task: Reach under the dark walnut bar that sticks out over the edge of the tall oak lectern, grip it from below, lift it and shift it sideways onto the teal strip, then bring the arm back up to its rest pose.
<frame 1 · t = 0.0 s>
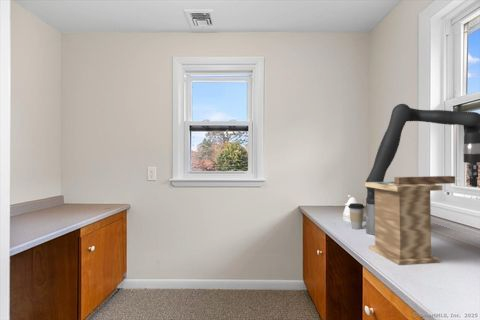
hand: (473, 185, 147), 29 cm above the countertop, tool pointing down, fingers open, 8 cm apart
coffee cup: (356, 228, 184), on the countertop
walnut bar: (424, 183, 127), point 32 cm above the countertop, touching oak lectern
oak lectern: (401, 255, 132), on the countertop
honey pot: (352, 221, 206), on the countertop
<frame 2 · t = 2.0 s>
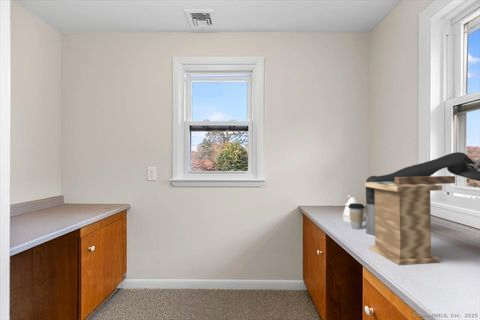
hand: (472, 157, 130), 43 cm above the countertop, tool pointing upward, fingers open, 8 cm apart
nothing on the countertop moved.
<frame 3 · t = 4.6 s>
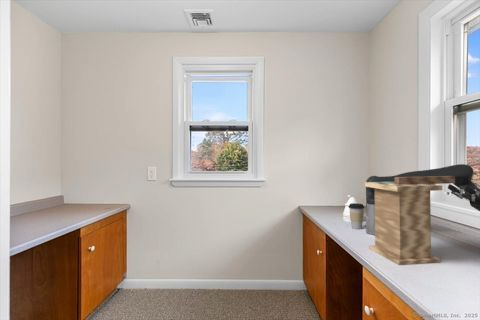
hand: (456, 186, 129), 31 cm above the countertop, tool pointing upward, fingers open, 8 cm apart
nothing on the countertop moved.
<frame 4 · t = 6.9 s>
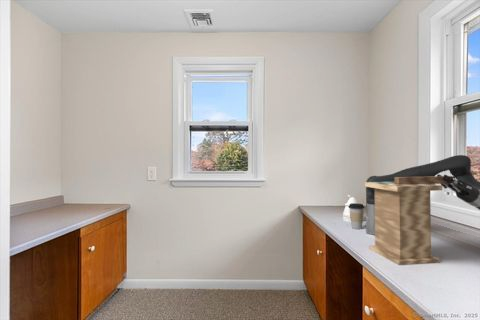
hand: (440, 176, 128), 35 cm above the countertop, tool pointing upward, fingers closed on walnut bar, 3 cm apart
walnut bar: (424, 183, 127), point 32 cm above the countertop, touching gripper, oak lectern
everything else where it was.
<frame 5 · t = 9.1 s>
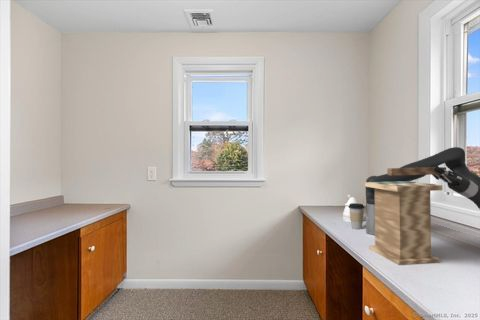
hand: (432, 167, 132), 39 cm above the countertop, tool pointing upward, fingers closed on walnut bar, 3 cm apart
walnut bar: (416, 174, 131), point 36 cm above the countertop, touching gripper
everything else where it was.
when the fingers open (36 cm above the countertop, at t = 11.7 s): walnut bar stays where it is, resting on oak lectern.
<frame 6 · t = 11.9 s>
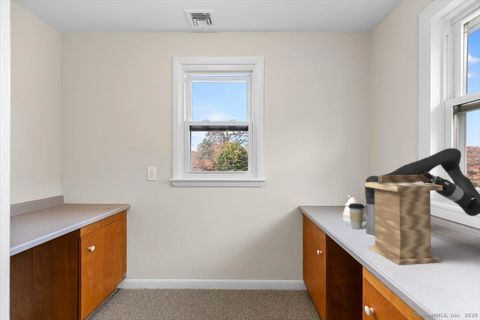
hand: (420, 173, 140), 36 cm above the countertop, tool pointing upward, fingers open, 4 cm apart
walnut bar: (405, 181, 139), point 32 cm above the countertop, touching oak lectern
everything else where it was.
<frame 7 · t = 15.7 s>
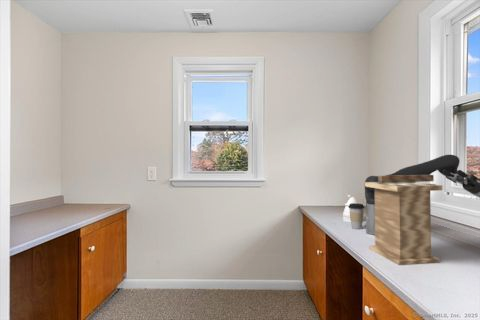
hand: (450, 171, 142), 37 cm above the countertop, tool pointing upward, fingers open, 8 cm apart
nothing on the countertop moved.
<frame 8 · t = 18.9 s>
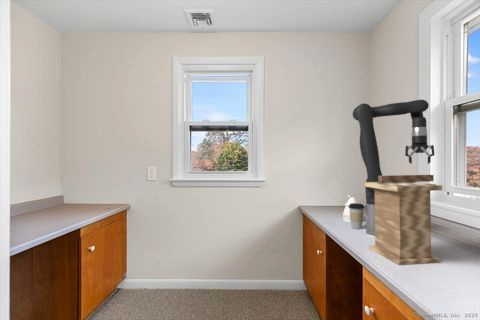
hand: (419, 163, 169), 40 cm above the countertop, tool pointing down, fingers open, 8 cm apart
nothing on the countertop moved.
at the end: walnut bar 0.1 cm from the target spot, point 32.3 cm above the countertop; walnut bar touching oak lectern; the gripper is holding nothing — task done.
